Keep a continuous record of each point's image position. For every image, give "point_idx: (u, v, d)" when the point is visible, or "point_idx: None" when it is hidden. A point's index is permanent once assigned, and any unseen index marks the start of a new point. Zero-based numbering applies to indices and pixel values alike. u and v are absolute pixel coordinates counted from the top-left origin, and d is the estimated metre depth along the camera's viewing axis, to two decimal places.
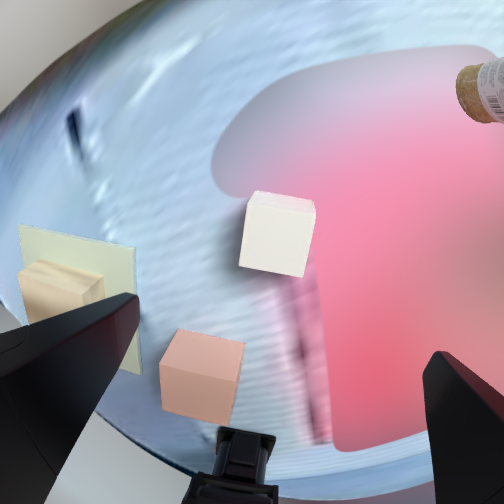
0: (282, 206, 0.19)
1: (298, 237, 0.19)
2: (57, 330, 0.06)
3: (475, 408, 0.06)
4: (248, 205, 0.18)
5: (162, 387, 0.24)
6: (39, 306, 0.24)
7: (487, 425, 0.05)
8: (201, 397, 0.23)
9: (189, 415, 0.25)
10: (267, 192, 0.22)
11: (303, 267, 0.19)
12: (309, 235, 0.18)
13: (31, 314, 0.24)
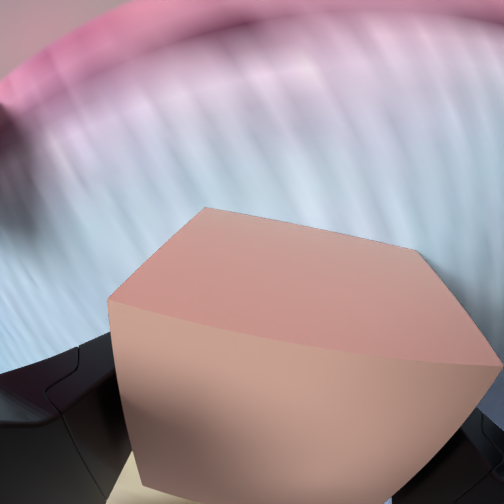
0: None
1: None
2: None
3: None
4: None
5: None
6: None
7: None
8: (273, 451, 0.05)
9: (397, 481, 0.05)
10: None
11: None
12: None
13: None
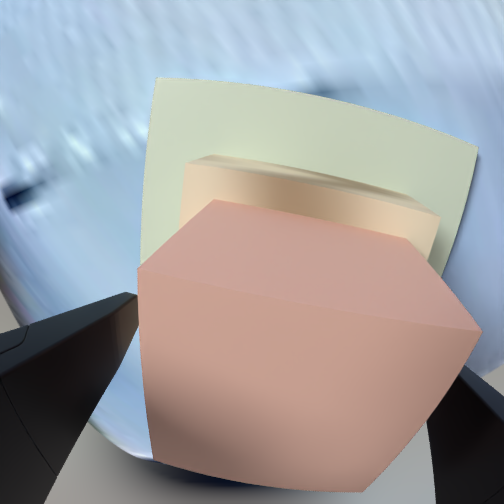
0: None
1: None
2: (57, 330, 0.06)
3: (475, 408, 0.06)
4: None
5: (251, 481, 0.07)
6: None
7: (487, 425, 0.05)
8: (278, 411, 0.06)
9: (393, 448, 0.06)
10: None
11: None
12: None
13: None
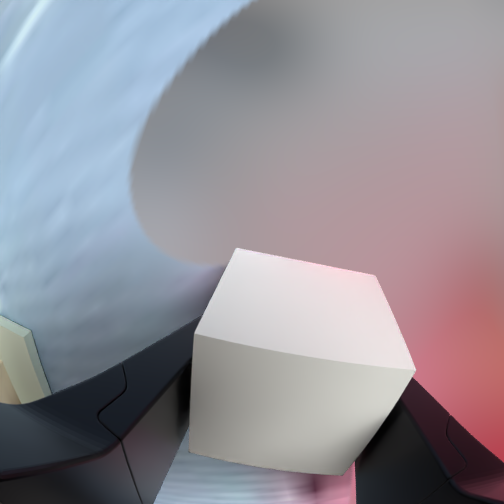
0: (311, 335, 0.06)
1: (351, 418, 0.06)
2: (160, 367, 0.05)
3: (395, 409, 0.06)
4: (198, 340, 0.05)
5: None
6: None
7: (405, 429, 0.05)
8: None
9: None
10: (265, 255, 0.09)
11: (348, 463, 0.06)
12: (382, 414, 0.05)
13: None
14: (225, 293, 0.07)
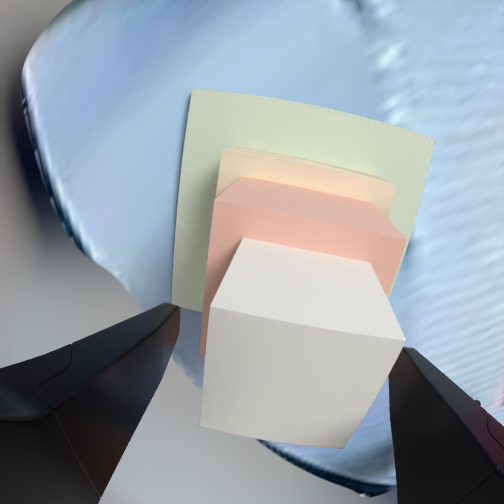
0: (312, 309, 0.06)
1: (349, 387, 0.06)
2: (105, 349, 0.06)
3: (438, 409, 0.06)
4: (213, 313, 0.06)
5: (210, 282, 0.10)
6: None
7: (449, 428, 0.05)
8: None
9: None
10: (269, 244, 0.10)
11: (348, 435, 0.07)
12: (377, 383, 0.06)
13: None
14: (235, 274, 0.07)
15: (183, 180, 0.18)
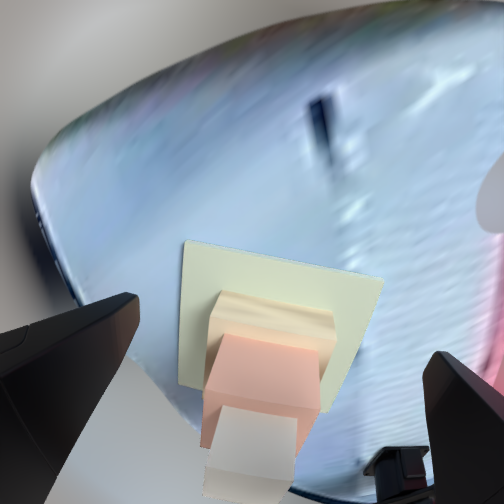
0: (251, 464, 0.12)
1: (270, 490, 0.12)
2: (57, 330, 0.06)
3: (475, 408, 0.06)
4: (207, 467, 0.12)
5: (205, 419, 0.16)
6: None
7: (487, 425, 0.05)
8: None
9: None
10: (237, 410, 0.15)
11: None
12: (283, 491, 0.12)
13: None
14: (217, 442, 0.13)
15: (183, 308, 0.24)
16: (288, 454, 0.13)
